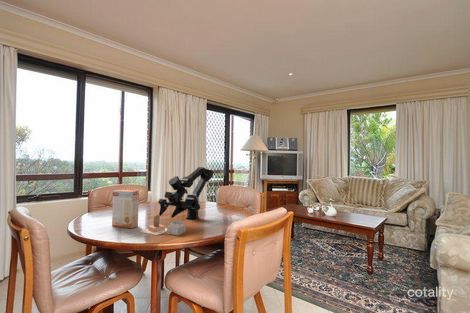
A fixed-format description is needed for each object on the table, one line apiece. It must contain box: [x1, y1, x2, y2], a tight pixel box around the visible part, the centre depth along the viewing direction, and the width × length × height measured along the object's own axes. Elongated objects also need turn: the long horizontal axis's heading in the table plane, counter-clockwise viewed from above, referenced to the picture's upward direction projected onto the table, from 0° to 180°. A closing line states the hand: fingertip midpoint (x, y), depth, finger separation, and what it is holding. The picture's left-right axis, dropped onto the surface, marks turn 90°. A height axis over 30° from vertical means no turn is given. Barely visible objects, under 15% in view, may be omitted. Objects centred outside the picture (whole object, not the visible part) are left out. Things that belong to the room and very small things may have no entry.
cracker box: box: [111, 189, 140, 229], centre depth 145 cm, size 14×6×21 cm, turn 71°
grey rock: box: [166, 220, 187, 236], centre depth 135 cm, size 7×7×6 cm
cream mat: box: [139, 227, 167, 236], centre depth 138 cm, size 12×12×1 cm
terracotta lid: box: [147, 214, 166, 232], centre depth 138 cm, size 7×7×8 cm
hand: (165, 216), depth 144 cm, fingers open, 9 cm apart
